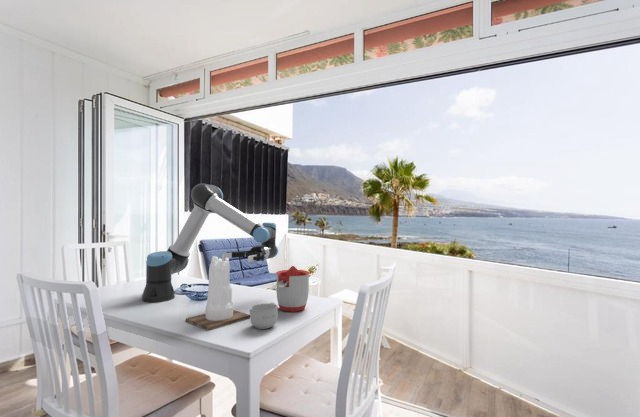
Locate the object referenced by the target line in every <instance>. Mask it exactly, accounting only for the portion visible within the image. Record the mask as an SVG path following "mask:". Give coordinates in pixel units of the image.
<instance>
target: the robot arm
mask: <svg viewBox="0 0 640 417" xmlns="http://www.w3.org/2000/svg"><path fill="white" fill-rule="evenodd" d="M190 197H191V199H192V201H193V202H192V203H193V208H192V210H191V212H190V214H189V216H188V218H187V220H186V221H185V223H184V224H183V227H182V229H181V231H180V232H179V234H178V236H177V237H176V240H175V241H174V244H172V245H169V246H168V248H167V250H165V251H164V250H163V251H154V252H152V253H149V254H148V255H147V257H146V261H145V263H146V264H145V265H146V270H145V273H146V274H145V277H146V279H145V286H144V289H143V291H142V294H141V301H142V302H146V303H158V302H165V301H169V300H173V299H174V298H175V295H176V293H175V290H174V286H173V284H172V275H174V274H177V273H179V272H182V271H183V270H185V269H187V266H188V264H189V260H190V259H189V257H190V249H191V247H192V246H193V243H194V242H195V240H196V238H197V236H198V235H199V233H200V231H201V229H202V227H203V225H204V224H205V222H206V220H207V218H208V217H209V215H210V214H212V213H215V214H216V215H218V216H219V217H221V218H222V219H224V220H225V221H227V222H229V223H230V224H232V225H233V226H235V227H237V228H238V229H240V230H241V231H243V232H244V233H246V234H247V235H249V236H251V237H252V238H253V239H254V240H255V241H256V242H258V243H261V244H260V245H258V246H257V245H256V246H253V247H251V248H250V250H240V251H227V252H226V253H221V259H222V261H226V258H227V257H228V258H229V260H231V259H233V258H236V259H237V258H242V259H247V263H251V262H252V263H253V262H264V261H265V260H268V259H273V258H274V257H277V255H278V254H279V247H278V246H277V244H276V240H277V239H276V238H277V234H276V233H277V224H276V223H275V222H263V223H262V224H261V223H259V222H258V221H256V220H255V219H253V218H252V217H250V216H249V215H247V214H245V213H244V212H242V211H240V209H237V208H236V207H234V206H233V205H231V204H230V203H228V202H226V200H223V199H224V194H223V191H222V190H221V188H219V186H216V185H213V184H207V183H198V184H196V185H195V186H194V187H193V188H192V189H191V192H190Z"/></svg>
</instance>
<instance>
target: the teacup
mask: <svg viewBox="0 0 640 417" xmlns="http://www.w3.org/2000/svg"><path fill="white" fill-rule="evenodd" d="M249 315H250V318H249V319H250V323H251V325H252V326H253V327H255V328H256V329H259V330H265V329H270V328H272V327H274V325H275V324H276V323H277V322H278V305H277V303H276V304H275V302H270V303H267V302H265V303H259V304H258V303H257V304H253V305H251V306H250V307H249Z"/></svg>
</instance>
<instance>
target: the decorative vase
mask: <svg viewBox="0 0 640 417" xmlns="http://www.w3.org/2000/svg"><path fill="white" fill-rule="evenodd" d="M230 265H231V264H230V259H229V258H228V257H227V258H226V259H225V260H222V257H218V256H216V255H212V256H211V260H210V264H209V268H208V269H209V270H208V287H207V288H208V289H207V302H206V305H205V313H206V319H207V320H211V321H212V320H213V321H220V320H226V319H229V318H231V317H232V316H233V310H234V304H233V300H232V298H233V297H232V296H233V290H232V289H233V288H232V286H231V284H230V283H231V282H230V276H231V275H230V274H231V271H230V270H231V266H230Z"/></svg>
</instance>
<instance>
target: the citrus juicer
mask: <svg viewBox="0 0 640 417" xmlns="http://www.w3.org/2000/svg"><path fill="white" fill-rule="evenodd" d="M275 273H276V289H275V290H276V300H277V304H278V305H277V306H278V307H279V309H280V310H281V311H285V312H292V313H296V312H301V311H303V310H305V309H306V306H307V302H308V300H309V291H310V287H309V286H310V271H307V270H303V269H297V267H295V265H291V266H290V267H289V268H288V269H285V270H284V269H282V270H278V271H276V272H275Z"/></svg>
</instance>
